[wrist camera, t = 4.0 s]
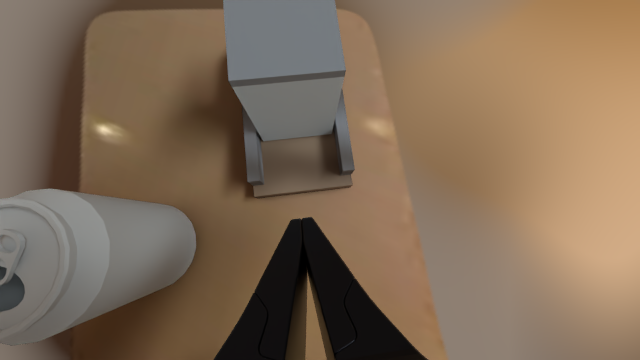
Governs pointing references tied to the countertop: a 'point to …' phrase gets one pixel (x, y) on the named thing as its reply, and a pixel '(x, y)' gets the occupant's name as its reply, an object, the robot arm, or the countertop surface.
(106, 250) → the can
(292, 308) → the robot arm
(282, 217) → the countertop surface
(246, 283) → the countertop surface
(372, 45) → the countertop surface
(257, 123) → the grey rectangular box
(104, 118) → the countertop surface
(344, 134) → the grey rail holder
